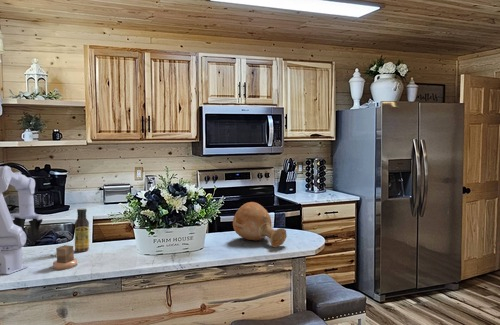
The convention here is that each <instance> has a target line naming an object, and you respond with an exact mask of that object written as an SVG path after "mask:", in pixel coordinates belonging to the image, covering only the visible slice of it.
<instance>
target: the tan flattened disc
mask: <svg viewBox="0 0 500 325" xmlns="http://www.w3.org/2000/svg"><path fill="white" fill-rule="evenodd" d="M76 265H77V266H78V259H77V258H75V257H74V260H73V261H70V262H68V263H58V262H57V259H56V260H54V261H53V262H52V268H53V270H59V271H61V270H62V271H63V270H69V269H73V268H75V267H77V266H76Z"/></svg>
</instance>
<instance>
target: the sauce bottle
mask: <svg viewBox="0 0 500 325" xmlns="http://www.w3.org/2000/svg"><path fill="white" fill-rule="evenodd" d="M76 213H77V217H76V220H75V223H74V251H75V252H76V253H84V252H87V251H88V250H90V225H89V224H90V221H89V220H88V219H87V208H86V207H84V208H83V207H82V208H81V207H80V208H77V209H76Z"/></svg>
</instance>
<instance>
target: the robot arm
mask: <svg viewBox="0 0 500 325" xmlns="http://www.w3.org/2000/svg"><path fill="white" fill-rule="evenodd" d="M9 185H10V186H13V187H14V189H15V191H17V194H18V210H19V212H18V213H12V214H11V212H10V211H9V208H8V205H7V202H6V200H5V197H4V195H3V193H4V192H6V191H7V190H8V188H9ZM35 188H36V180H35V179H34V178H32V177H31V176H30V177H27V176H26V175H25V174H22V172H20V171H15V172H13V171H12V168H11V166H8V165H4V166H0V275H10V274H13V273H16V272H18V271H21V270H24V269H26V268H28V267H29V266H28V265H24V264H23V249H22V247H24V246H25V245H26V242H27V233H26V232H25V222H26V220H28V223H29V225H30V229H31V235H32V237H36V236H38V233H39V229H40V227H41V224H42V223H43V221H44V220H43V215H42V214H38V213H36V212H35V202H34V201H35V200H34V194H35Z"/></svg>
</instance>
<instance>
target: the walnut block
mask: <svg viewBox="0 0 500 325" xmlns="http://www.w3.org/2000/svg"><path fill="white" fill-rule="evenodd" d="M74 251H75V249H74V245H67V244H66V245H65V244H64V245H62V246H59V247H56V251H55V252H56V260H57V262H58V263H68V262H70V261H73V260H74V258H75V253H74Z"/></svg>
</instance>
